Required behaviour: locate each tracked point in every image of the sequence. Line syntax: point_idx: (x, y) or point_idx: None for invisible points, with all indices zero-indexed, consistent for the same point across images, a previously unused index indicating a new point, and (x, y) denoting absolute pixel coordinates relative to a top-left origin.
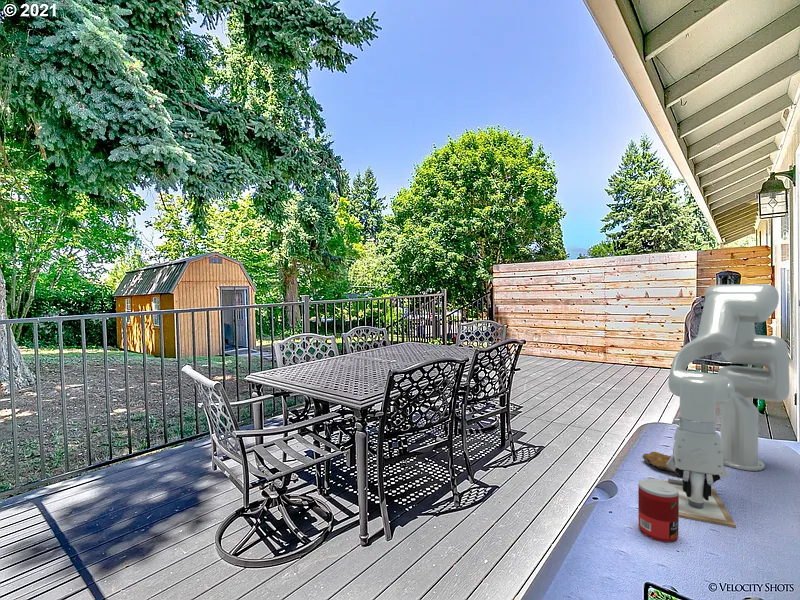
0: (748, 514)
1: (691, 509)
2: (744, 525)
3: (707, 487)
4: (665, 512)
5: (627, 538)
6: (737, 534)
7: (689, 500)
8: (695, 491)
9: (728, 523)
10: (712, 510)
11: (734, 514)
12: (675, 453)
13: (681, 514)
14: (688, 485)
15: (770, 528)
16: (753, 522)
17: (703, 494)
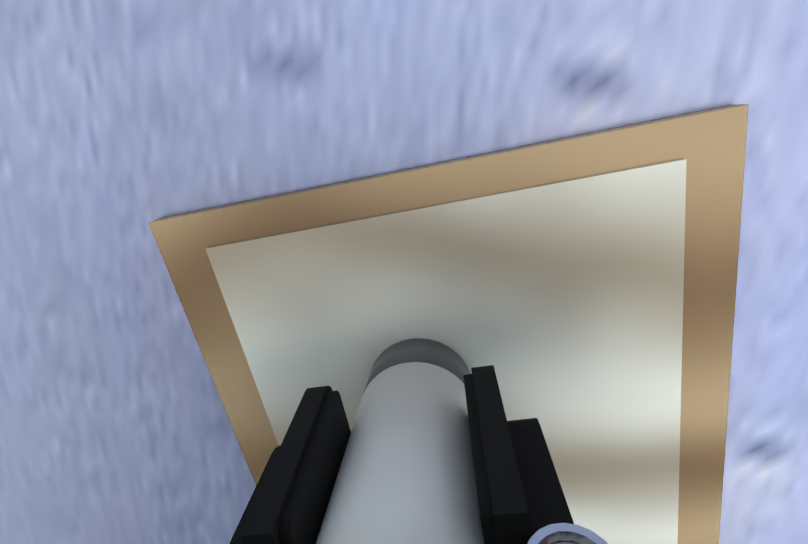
0: (137, 457)
1: (449, 298)
2: (125, 291)
3: (267, 503)
4: None
5: None
6: (132, 103)
7: None
8: (417, 432)
9: (194, 220)
10: (310, 367)
11: (200, 416)
12: None
13: (530, 157)
14: (506, 464)
15: (3, 340)
16: (93, 367)
17: (346, 448)
